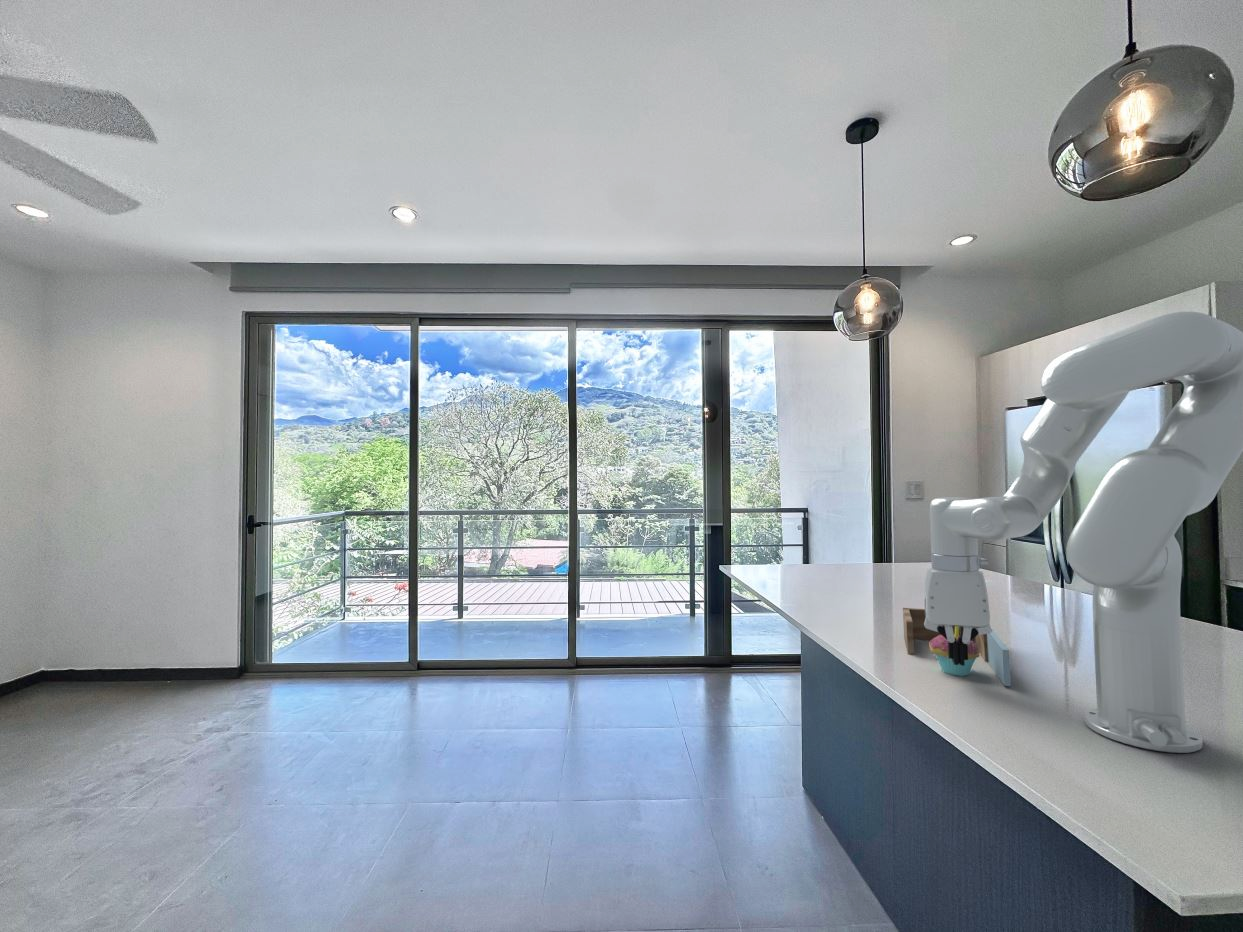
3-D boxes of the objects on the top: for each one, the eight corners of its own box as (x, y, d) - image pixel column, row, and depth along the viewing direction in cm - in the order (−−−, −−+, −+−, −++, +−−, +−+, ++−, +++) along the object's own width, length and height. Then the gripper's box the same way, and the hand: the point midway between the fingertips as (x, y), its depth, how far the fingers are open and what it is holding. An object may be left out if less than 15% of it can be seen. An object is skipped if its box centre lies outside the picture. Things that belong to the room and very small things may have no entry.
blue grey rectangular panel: (993, 660, 114) (991, 629, 114) (1010, 686, 100) (1009, 650, 100) (987, 660, 114) (986, 628, 114) (1004, 685, 100) (1002, 649, 100)
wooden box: (991, 661, 114) (990, 627, 114) (907, 654, 120) (906, 621, 121) (979, 643, 127) (978, 612, 127) (904, 637, 133) (902, 607, 133)
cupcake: (990, 678, 105) (987, 614, 105) (945, 679, 105) (942, 615, 105) (963, 664, 113) (961, 604, 114) (921, 664, 113) (919, 605, 114)
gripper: (997, 562, 104) (1001, 661, 103) (908, 559, 110) (911, 653, 109) (1007, 568, 97) (1011, 674, 96) (911, 565, 103) (914, 664, 102)
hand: (958, 662), depth 103 cm, fingers closed
